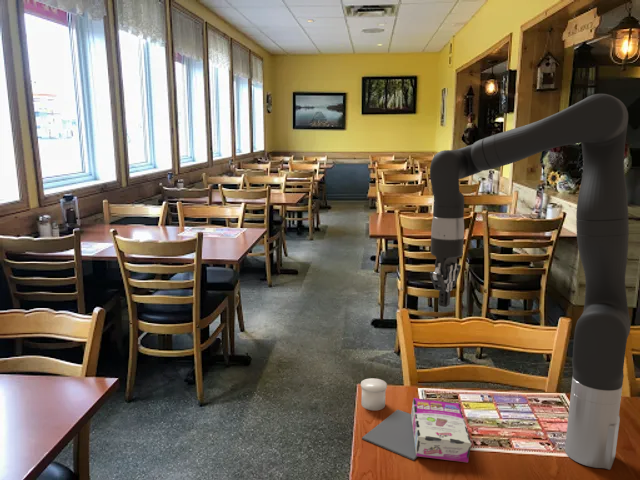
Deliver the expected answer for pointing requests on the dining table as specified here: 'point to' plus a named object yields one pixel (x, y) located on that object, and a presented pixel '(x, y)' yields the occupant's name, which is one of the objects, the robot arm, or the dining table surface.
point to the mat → (394, 434)
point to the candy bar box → (440, 430)
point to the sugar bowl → (373, 394)
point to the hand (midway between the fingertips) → (444, 305)
